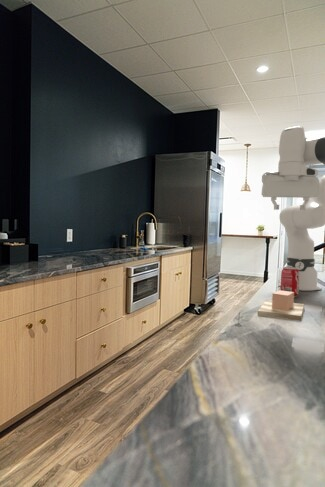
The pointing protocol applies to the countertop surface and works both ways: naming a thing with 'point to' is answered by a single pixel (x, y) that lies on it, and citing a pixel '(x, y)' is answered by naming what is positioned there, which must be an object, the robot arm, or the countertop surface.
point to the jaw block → (283, 300)
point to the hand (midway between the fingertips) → (289, 209)
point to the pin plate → (281, 311)
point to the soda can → (290, 280)
